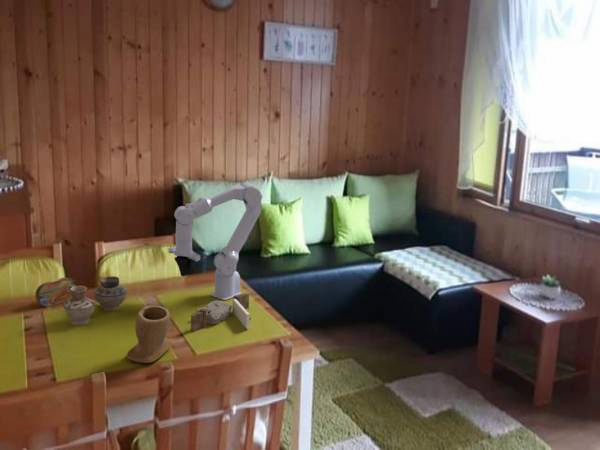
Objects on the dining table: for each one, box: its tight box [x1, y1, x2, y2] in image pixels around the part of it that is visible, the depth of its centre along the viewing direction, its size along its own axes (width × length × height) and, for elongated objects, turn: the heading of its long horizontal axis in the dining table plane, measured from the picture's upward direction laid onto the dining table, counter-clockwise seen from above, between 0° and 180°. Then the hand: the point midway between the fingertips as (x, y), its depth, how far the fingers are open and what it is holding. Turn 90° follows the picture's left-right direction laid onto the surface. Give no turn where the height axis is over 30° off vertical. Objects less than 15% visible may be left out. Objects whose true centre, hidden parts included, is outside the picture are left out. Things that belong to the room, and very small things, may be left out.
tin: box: [35, 277, 78, 308], centre depth 212 cm, size 15×3×8 cm, turn 143°
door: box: [232, 297, 252, 330], centre depth 204 cm, size 15×2×5 cm, turn 24°
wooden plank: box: [190, 292, 250, 332], centre depth 205 cm, size 27×2×6 cm, turn 144°
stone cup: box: [126, 305, 174, 364], centre depth 177 cm, size 15×12×15 cm
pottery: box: [62, 275, 128, 326], centre depth 203 cm, size 11×25×12 cm, turn 155°
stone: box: [195, 300, 233, 325], centre depth 206 cm, size 13×6×10 cm
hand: (184, 275), depth 218 cm, fingers closed
